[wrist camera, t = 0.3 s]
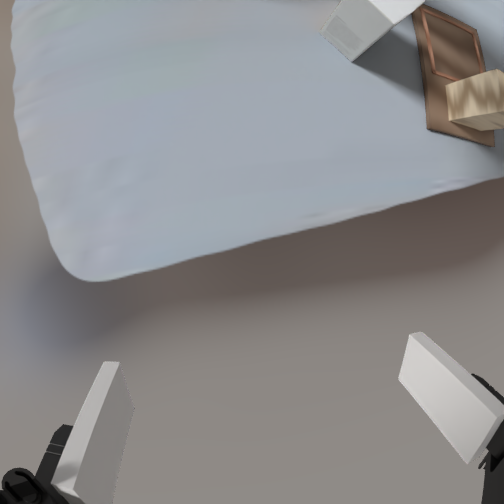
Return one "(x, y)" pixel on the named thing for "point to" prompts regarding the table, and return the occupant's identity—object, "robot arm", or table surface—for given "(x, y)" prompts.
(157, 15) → the table surface
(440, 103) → the wooden tray with block
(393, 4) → the small box
